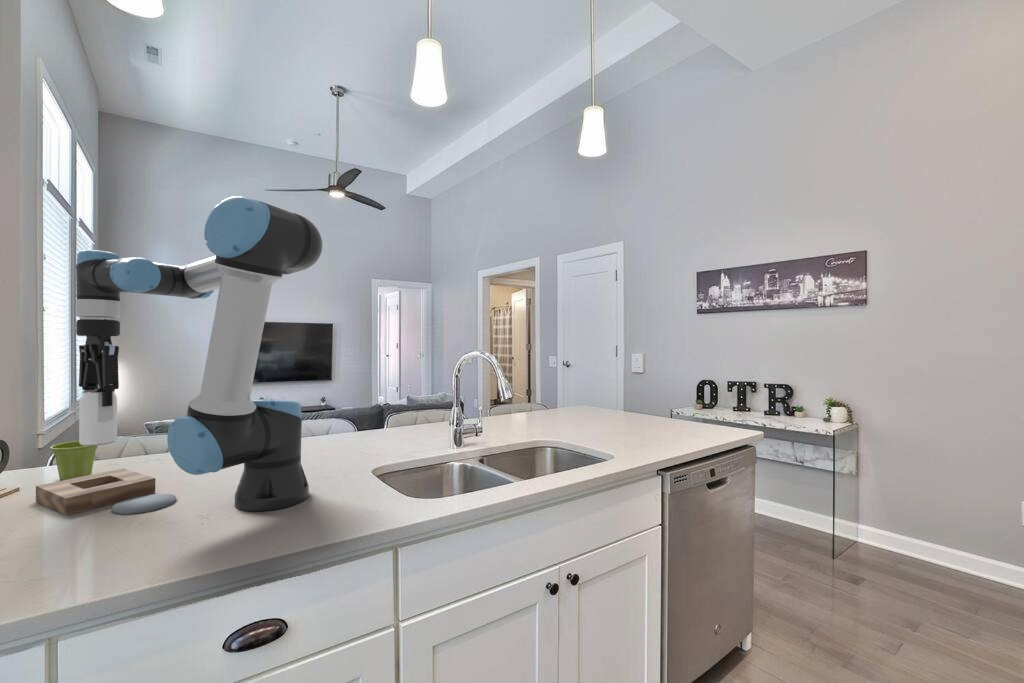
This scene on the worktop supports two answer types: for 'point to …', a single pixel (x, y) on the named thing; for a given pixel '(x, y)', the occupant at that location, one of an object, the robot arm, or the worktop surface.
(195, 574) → the worktop surface
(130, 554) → the worktop surface
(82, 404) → the can
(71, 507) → the pocket block
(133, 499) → the slate mat
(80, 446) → the plant pot
